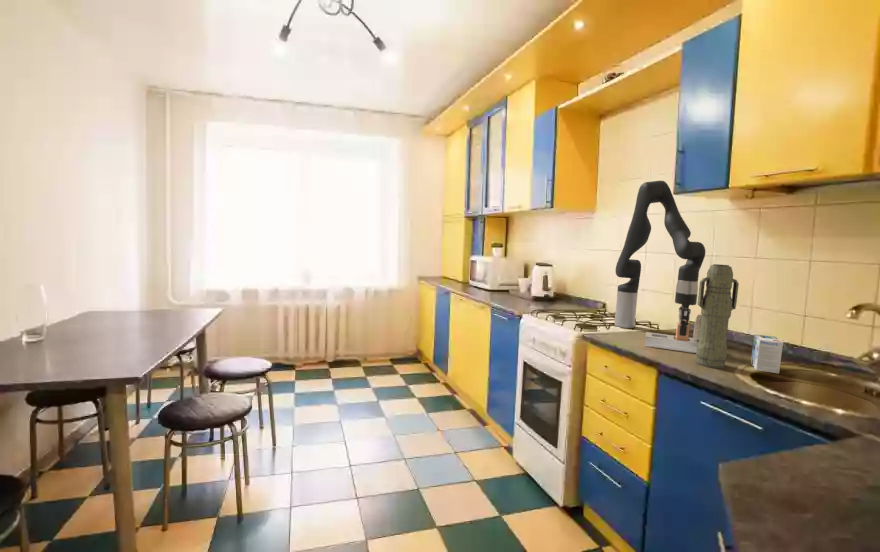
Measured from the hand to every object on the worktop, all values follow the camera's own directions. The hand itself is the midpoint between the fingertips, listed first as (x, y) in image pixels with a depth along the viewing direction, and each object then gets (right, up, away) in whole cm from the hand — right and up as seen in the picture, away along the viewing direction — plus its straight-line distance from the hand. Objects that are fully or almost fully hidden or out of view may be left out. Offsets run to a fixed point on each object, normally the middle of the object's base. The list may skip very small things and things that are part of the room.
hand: (682, 333), depth 176 cm
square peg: (0, -6, +1) cm, 6 cm away
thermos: (-2, -8, -22) cm, 23 cm away
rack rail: (0, -6, +1) cm, 6 cm away
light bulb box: (+16, -9, -23) cm, 29 cm away
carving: (+16, -6, +13) cm, 21 cm away
